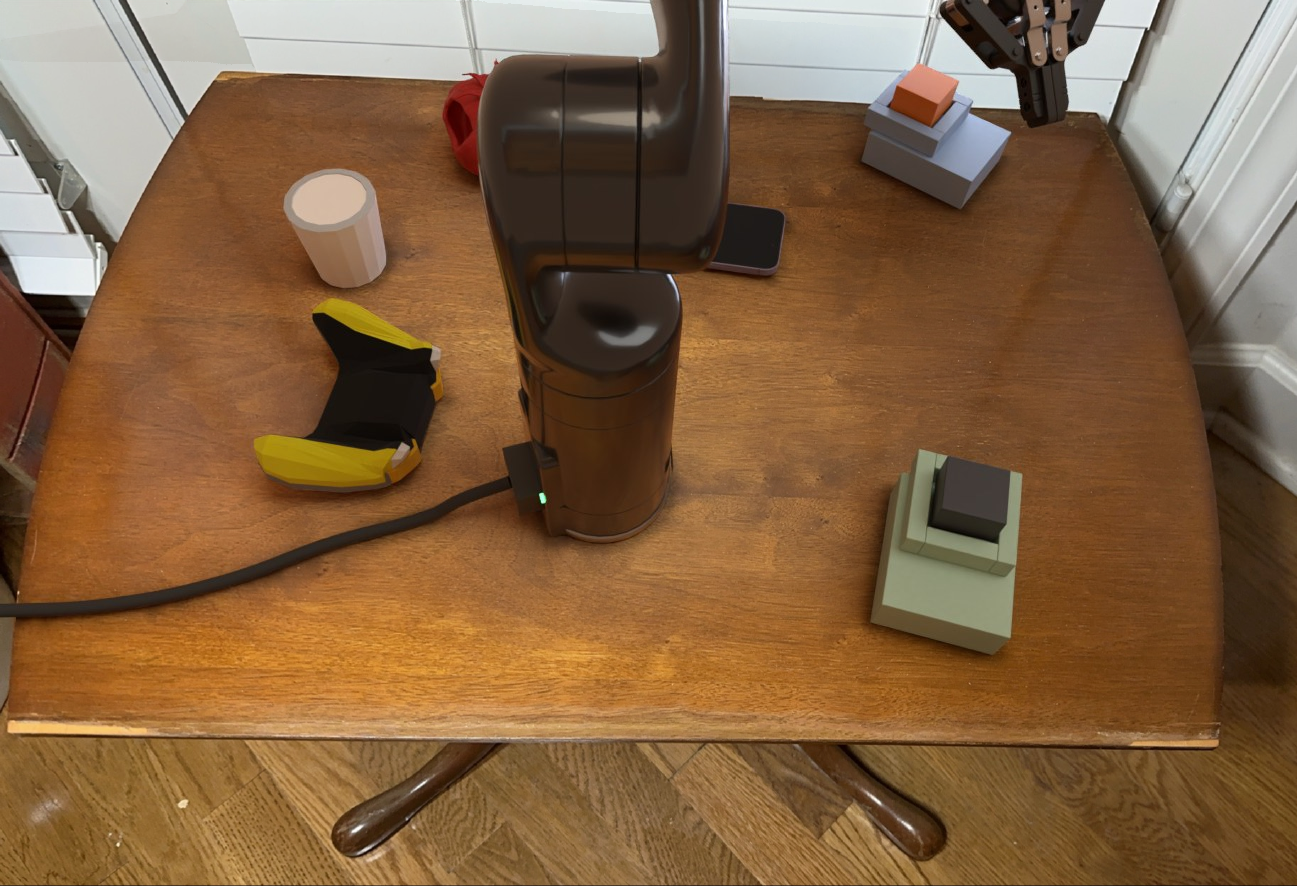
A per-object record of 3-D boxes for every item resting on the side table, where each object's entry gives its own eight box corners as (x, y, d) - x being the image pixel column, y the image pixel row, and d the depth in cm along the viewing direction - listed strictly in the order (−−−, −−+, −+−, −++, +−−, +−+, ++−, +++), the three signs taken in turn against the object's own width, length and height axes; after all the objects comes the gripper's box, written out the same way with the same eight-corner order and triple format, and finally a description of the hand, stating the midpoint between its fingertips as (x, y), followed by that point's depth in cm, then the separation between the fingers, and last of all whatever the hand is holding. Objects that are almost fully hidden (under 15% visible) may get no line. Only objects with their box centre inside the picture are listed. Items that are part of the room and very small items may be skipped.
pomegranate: (492, 107, 86) (479, 15, 78) (582, 144, 84) (578, 54, 76) (428, 169, 81) (407, 78, 74) (521, 210, 79) (510, 121, 71)
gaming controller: (265, 500, 64) (404, 521, 63) (236, 459, 59) (387, 481, 58) (336, 333, 72) (461, 350, 71) (316, 285, 67) (450, 303, 66)
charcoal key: (992, 542, 58) (1007, 524, 56) (929, 526, 59) (941, 508, 57) (997, 489, 60) (1011, 470, 58) (936, 474, 61) (948, 455, 59)
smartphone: (615, 187, 80) (787, 209, 78) (615, 197, 81) (785, 219, 79) (597, 247, 76) (777, 272, 74) (598, 257, 77) (776, 281, 75)
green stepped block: (992, 655, 59) (1021, 627, 55) (869, 622, 60) (889, 593, 56) (1004, 510, 65) (1031, 475, 61) (891, 483, 66) (910, 446, 61)
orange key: (950, 105, 81) (959, 80, 79) (929, 129, 79) (938, 104, 77) (910, 87, 82) (918, 62, 80) (888, 110, 80) (896, 85, 78)
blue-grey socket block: (999, 160, 84) (1019, 115, 80) (960, 209, 81) (979, 165, 76) (893, 111, 87) (907, 65, 83) (851, 157, 84) (864, 111, 80)
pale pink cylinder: (386, 224, 78) (367, 159, 72) (401, 283, 74) (382, 220, 68) (304, 242, 76) (277, 177, 71) (315, 302, 73) (288, 239, 67)
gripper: (1053, -139, 64) (1085, 115, 68) (890, -111, 61) (933, 153, 65) (1138, -192, 57) (1168, 94, 61) (958, -164, 54) (1001, 136, 58)
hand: (1046, 124), depth 63 cm, fingers closed
